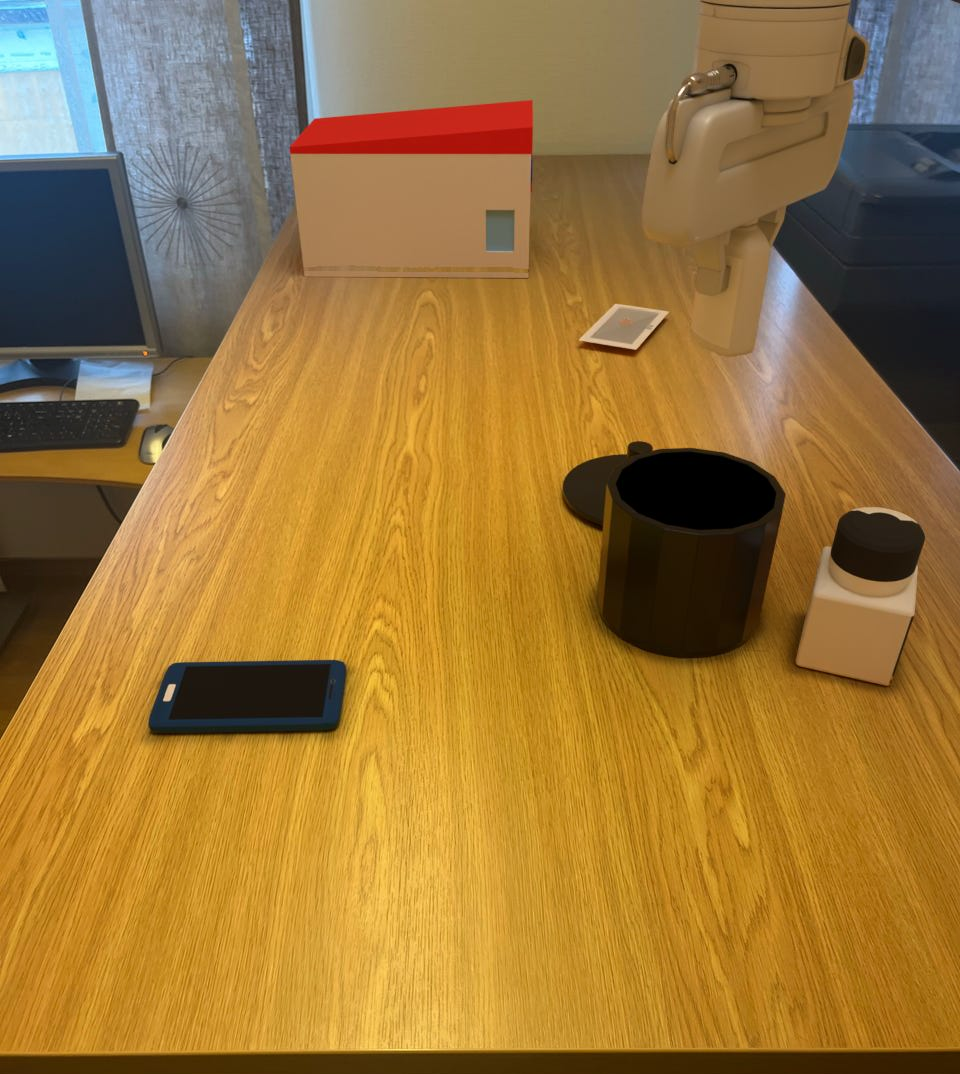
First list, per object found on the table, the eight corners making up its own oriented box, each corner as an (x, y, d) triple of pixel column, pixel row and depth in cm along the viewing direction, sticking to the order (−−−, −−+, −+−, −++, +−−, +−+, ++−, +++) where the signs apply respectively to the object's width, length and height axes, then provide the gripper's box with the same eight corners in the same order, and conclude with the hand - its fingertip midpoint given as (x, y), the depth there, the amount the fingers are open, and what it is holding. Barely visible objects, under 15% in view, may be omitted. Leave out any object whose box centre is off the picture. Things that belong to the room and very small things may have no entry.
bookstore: (530, 278, 150) (534, 127, 137) (304, 276, 151) (287, 126, 138) (530, 238, 166) (534, 99, 153) (326, 237, 167) (312, 100, 154)
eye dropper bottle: (692, 357, 70) (717, 177, 62) (688, 329, 74) (711, 157, 67) (755, 360, 70) (786, 178, 62) (747, 331, 74) (776, 158, 66)
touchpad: (577, 348, 128) (578, 332, 126) (614, 311, 138) (615, 296, 137) (635, 357, 125) (636, 341, 124) (668, 319, 136) (670, 303, 134)
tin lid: (735, 494, 97) (744, 442, 94) (656, 554, 89) (663, 500, 85) (616, 451, 105) (620, 401, 101) (532, 502, 96) (534, 450, 93)
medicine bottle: (890, 688, 74) (935, 556, 67) (794, 666, 76) (827, 536, 69) (895, 635, 79) (937, 506, 72) (805, 615, 81) (837, 489, 74)
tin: (787, 602, 83) (815, 483, 76) (705, 680, 75) (728, 555, 68) (654, 547, 90) (668, 432, 83) (566, 612, 82) (573, 492, 75)
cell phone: (169, 669, 76) (168, 661, 76) (348, 666, 76) (347, 658, 76) (146, 734, 70) (144, 726, 70) (339, 730, 71) (338, 723, 70)
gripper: (724, 84, 53) (691, 334, 61) (882, 44, 65) (836, 258, 73) (627, 72, 56) (609, 311, 65) (794, 36, 68) (760, 241, 77)
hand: (731, 282), depth 69 cm, fingers closed on eye dropper bottle, 4 cm apart
